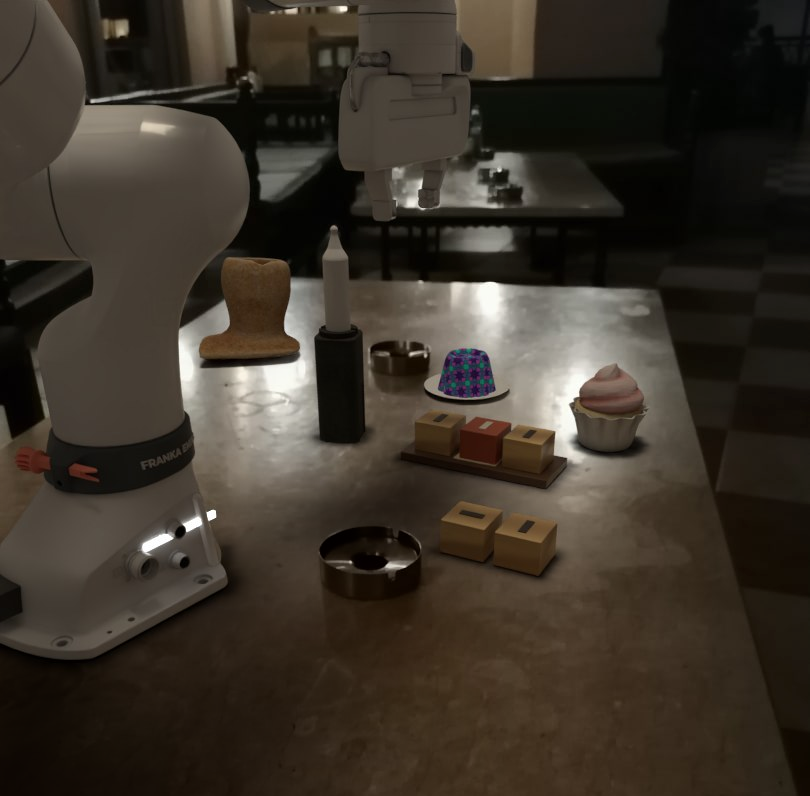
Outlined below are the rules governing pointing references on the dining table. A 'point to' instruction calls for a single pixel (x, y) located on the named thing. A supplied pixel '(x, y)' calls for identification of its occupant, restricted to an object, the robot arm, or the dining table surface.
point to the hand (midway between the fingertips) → (407, 213)
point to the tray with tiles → (520, 463)
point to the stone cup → (253, 311)
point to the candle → (339, 354)
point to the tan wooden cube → (525, 543)
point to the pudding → (467, 377)
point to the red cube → (483, 440)
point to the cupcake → (608, 410)
